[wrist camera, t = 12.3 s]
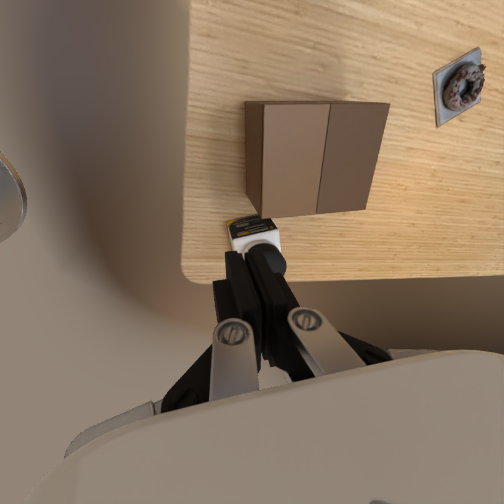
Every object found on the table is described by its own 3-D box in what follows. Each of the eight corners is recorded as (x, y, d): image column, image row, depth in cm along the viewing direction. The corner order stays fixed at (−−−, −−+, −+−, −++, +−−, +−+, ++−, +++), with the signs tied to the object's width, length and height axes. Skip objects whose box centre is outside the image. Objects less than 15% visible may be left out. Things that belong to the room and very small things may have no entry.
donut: (480, 102, 43) (492, 103, 41) (436, 127, 44) (446, 128, 42) (481, 44, 39) (495, 42, 37) (432, 72, 39) (444, 71, 37)
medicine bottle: (266, 211, 45) (290, 245, 35) (271, 246, 49) (293, 286, 39) (226, 220, 44) (238, 258, 34) (233, 255, 48) (246, 298, 38)
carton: (245, 193, 43) (261, 219, 34) (244, 101, 36) (263, 104, 27) (331, 187, 45) (365, 210, 37) (345, 100, 39) (391, 103, 30)
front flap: (261, 217, 34) (261, 219, 34) (263, 104, 28) (264, 104, 27) (314, 213, 36) (315, 214, 35) (328, 103, 29) (330, 104, 28)
